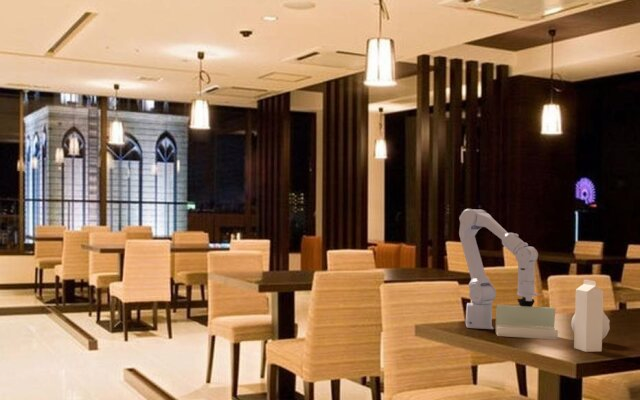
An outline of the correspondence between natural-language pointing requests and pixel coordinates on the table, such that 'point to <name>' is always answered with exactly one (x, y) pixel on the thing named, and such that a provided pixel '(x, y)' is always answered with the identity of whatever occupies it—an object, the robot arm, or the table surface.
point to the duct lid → (525, 315)
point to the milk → (588, 317)
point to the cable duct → (526, 331)
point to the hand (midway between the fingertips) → (525, 319)
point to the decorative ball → (604, 325)
